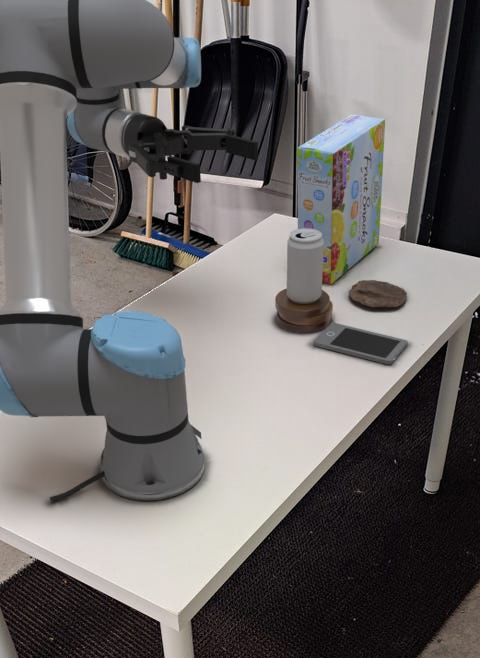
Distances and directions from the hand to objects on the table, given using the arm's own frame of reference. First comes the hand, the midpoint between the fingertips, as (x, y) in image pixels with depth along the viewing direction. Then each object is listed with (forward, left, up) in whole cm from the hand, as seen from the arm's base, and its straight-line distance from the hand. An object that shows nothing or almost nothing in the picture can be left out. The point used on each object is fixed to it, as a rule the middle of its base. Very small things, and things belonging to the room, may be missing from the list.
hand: (228, 162), depth 136 cm
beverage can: (+12, -7, -26) cm, 29 cm away
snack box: (+37, +4, -31) cm, 48 cm away
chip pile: (+12, -7, -30) cm, 33 cm away
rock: (+28, -12, -31) cm, 43 cm away
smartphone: (+11, -20, -30) cm, 38 cm away
